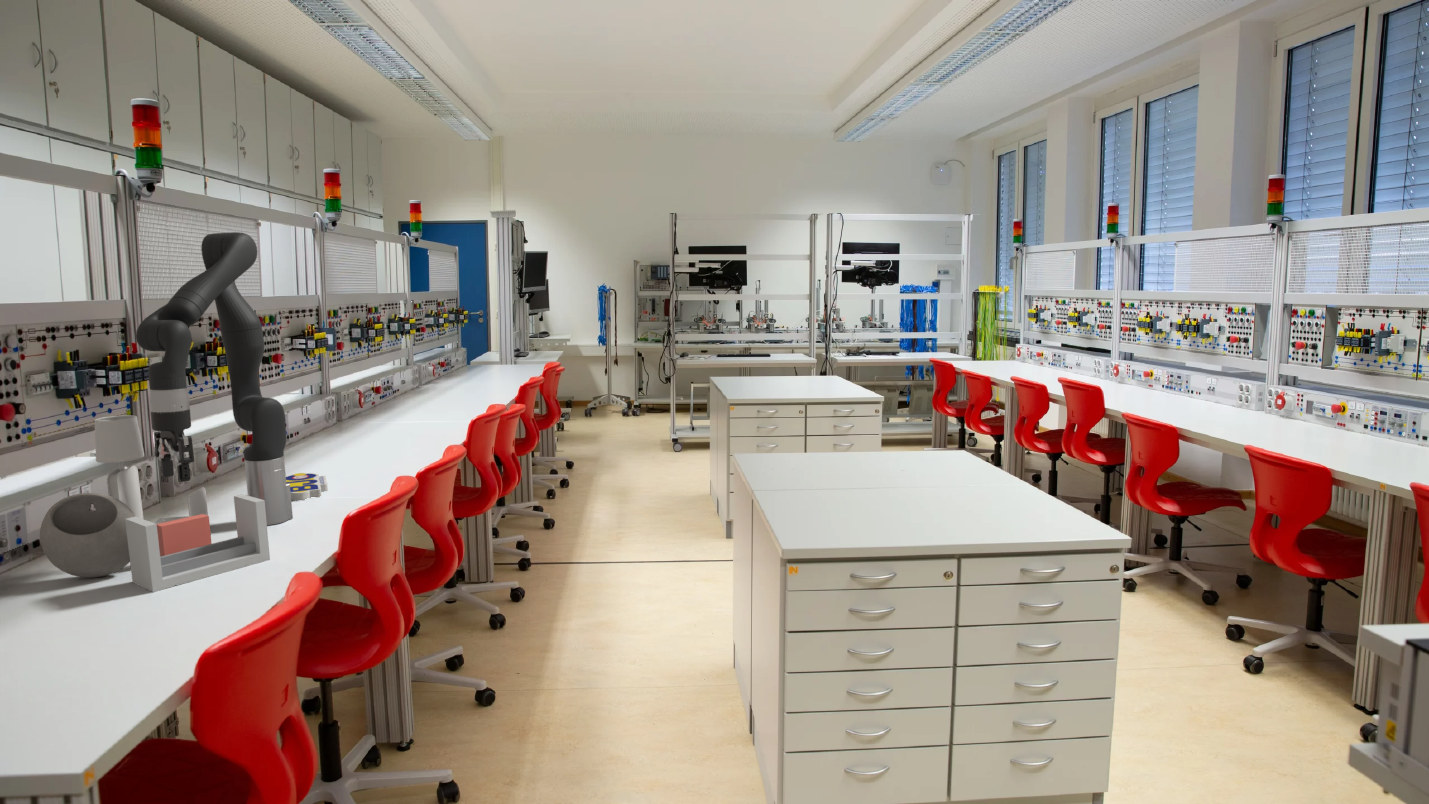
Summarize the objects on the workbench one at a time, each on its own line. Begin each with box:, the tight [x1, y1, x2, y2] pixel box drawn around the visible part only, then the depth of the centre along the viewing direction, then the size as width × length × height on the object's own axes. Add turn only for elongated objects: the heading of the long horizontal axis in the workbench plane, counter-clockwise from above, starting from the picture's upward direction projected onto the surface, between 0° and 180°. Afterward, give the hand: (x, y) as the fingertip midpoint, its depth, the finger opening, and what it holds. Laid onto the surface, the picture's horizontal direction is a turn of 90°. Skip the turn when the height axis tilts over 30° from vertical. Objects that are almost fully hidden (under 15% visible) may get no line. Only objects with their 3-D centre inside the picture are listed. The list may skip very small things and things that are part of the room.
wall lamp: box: [94, 414, 209, 524], centre depth 210 cm, size 10×21×30 cm, turn 101°
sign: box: [286, 472, 329, 501], centre depth 254 cm, size 28×3×20 cm
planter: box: [39, 492, 136, 579], centre depth 180 cm, size 18×7×19 cm, turn 105°
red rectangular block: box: [157, 514, 213, 557], centre depth 193 cm, size 10×3×9 cm, turn 145°
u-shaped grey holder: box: [125, 493, 271, 593], centre depth 184 cm, size 24×10×14 cm, turn 145°
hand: (176, 478), depth 191 cm, fingers open, 8 cm apart
